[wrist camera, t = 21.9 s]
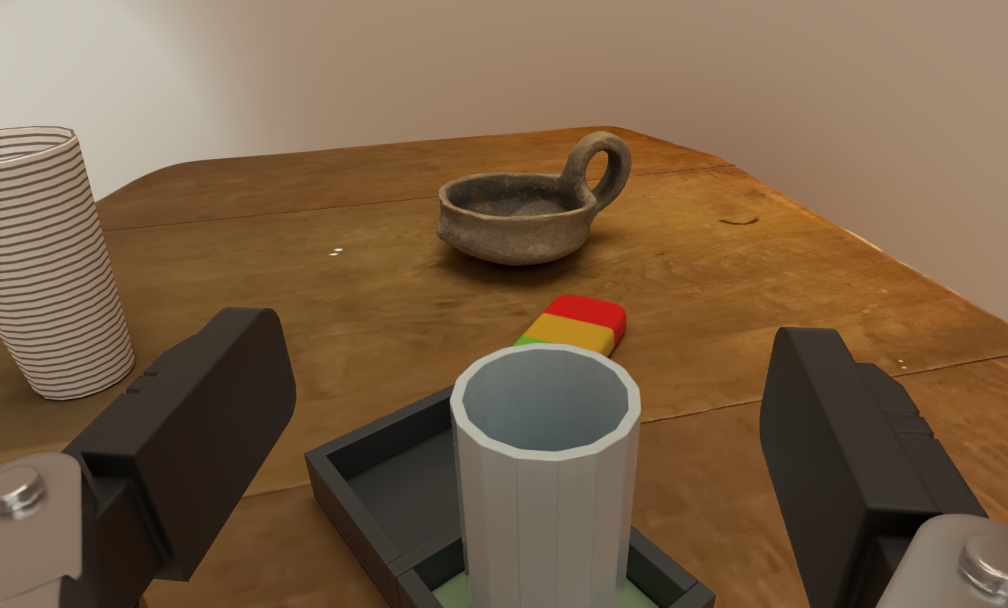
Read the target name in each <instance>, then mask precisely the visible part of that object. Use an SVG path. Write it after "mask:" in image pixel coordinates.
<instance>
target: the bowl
mask: <svg viewBox="0 0 1008 608" xmlns="http://www.w3.org/2000/svg"><path fill="white" fill-rule="evenodd" d="M601 150H603V151H605V152H607V153H608V166H607V169H606V172H605V174H604V176H603V177H602V179H601V180H600V182H599V184H598V185H597V186H596V187H595V188H594V189H592V190H591V191H590V189H589V188H588V186H587V183H586V178H585V173H586V168H587V164H588V163H589V161H590V160H591V158H592V157H593V156H594V155H595V154H596V153H597V152H599V151H601ZM630 170H631V155H630V151H629V148H628V146H627V145H626V144H625V142H624V141H623V140H622V139H620V138H619V137H617V136H616V135H614V134H611V133H609V132H604V131H600V132H594V133H592V134H589V135H587V136H585V137H584V138H582V139H581V140H580V141H579V142H578V143H577V144H576V145H575V146H574V148H573V149H572V150H571V152H570V154H569V157H568V160H567V163H566V166H565V168H564V170H563V172H562V174H539V173H509V172H496V173H483V174H475V175H470V176H466V177H462V178H459V179H456V180H453V181H451V182H449V183H447V184H445V185H443V186H442V187H441V188H440V190H439V192H438V194H439V200H440V208H441V213H440V220H439V224H438V226H437V235H438V237H439V238H440V239H442V240H444V241H445V242H447V243H449V244H450V245H452V246H453V247H455V248H457V249H459V250H460V251H462V252H464V253H466V254H469V255H471V256H473V257H476V258H479V259H482V260H485V261H489V262H493V263H498V264H504V265H515V266H517V265H532V264H541V263H547V262H551V261H554V260H557V259H560V258H562V257H564V256H566V255H568V254H570V253H572V252H573V251H575V250H576V249H578V248H579V247H581V246H582V245H583V243H584V242H585V241H586V239H587V237H588V235H589V232H590V225H591V223H592V221H593V219H594V218H595V216H596V215H597V213H598V212H600V211H601V210H603V209H604V208H605V207H606V206H608V205H609V204H610V203H611V202H612V201H614V200H615V198H616V197H617V196H618V195H619V194H620V192H621V191H622V189H623V188H624V186H625V184H626V182H627V179H628V177H629V173H630Z"/></svg>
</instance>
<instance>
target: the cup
mask: <svg viewBox="0 0 1008 608" xmlns="http://www.w3.org/2000/svg"><path fill="white" fill-rule="evenodd" d="M0 337H1V339H2V340H3V342H4V344H5V345H6V347H7V348H8V350H9V352H10V353H11V355H12V356H13V358H14V360H15V361H16V363H17V364H18V366H19V368H20V369H21V371H22V372H23V374H24V376H25V377H26V379H27V380H28V382H29V383H30V385H31V387H32V388H33V390H34V391H35V392H36V393H38V394H39V395H41V396H43V397H44V398H46V399H55V400H66V399H73V398H80V397H84V396H87V395H90V394H93V393H96V392H99V391H102V390H104V389H105V388H107V387H109V386H111V385H113V384H115V383H117V382H118V381H120V380H121V379H122V378H123V377H124V376H125V375H127V374H128V373H129V372H130V370H131V368H132V366H133V364H134V362H135V357H134V353H133V349H132V345H131V341H130V338H129V334H128V330H127V326H126V322H125V318H124V314H123V311H122V307H121V303H120V299H119V295H118V291H117V287H116V284H115V280H114V276H113V272H112V268H111V264H110V260H109V257H108V253H107V249H106V245H105V241H104V237H103V234H102V230H101V226H100V222H99V218H98V214H97V210H96V207H95V203H94V199H93V195H92V191H91V187H90V184H89V180H88V176H87V172H86V168H85V164H84V160H83V157H82V153H81V149H80V145H79V141H78V137H77V135H76V133H75V131H74V130H72V129H67V128H63V127H54V126H32V127H19V128H6V129H0Z"/></svg>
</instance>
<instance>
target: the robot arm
mask: <svg viewBox="0 0 1008 608" xmlns="http://www.w3.org/2000/svg"><path fill="white" fill-rule="evenodd" d="M295 403H296V384H295V380H294V376H293V372H292V368H291V363H290V359H289V355H288V351H287V347H286V343H285V339H284V335H283V331H282V327H281V323H280V319H279V317H278V315H277V314H276V312H275V311H274V310H272V309H269V308H241V307H226V308H224V309H222V310H221V311H220V312H219V313H218V314H217V315H216V316H215V317H214V318H213V319H212V320H211V321H210V322H209V323H208V324H207V325H206V326H205V327H204V328H203V329H202V330H201V331H200V332H199V333H198V334H197V335H193V336H191V337H190V338H188V339H186V340H184V341H183V342H181V343H179V344H177V345H176V346H174V347H172V348H170V349H169V350H167V351H165V352H164V353H163V354H162V355H161V356H160V357H159V358H158V359H157V360H156V361H155V362H154V363H153V364H151V365H150V366H149V367H148V368H147V369H146V370H145V371H144V375H143V376H139V377H138V378H137V379H136V380H135V381H134V382H133V383H132V384H131V385H130V386H129V387H128V388H127V389H126V394H125V393H122V394H121V395H120V396H118V397H117V398H116V399H115V400H114V401H113V402H112V403H111V404H110V405H109V406H108V407H107V408H106V409H105V410H104V411H103V412H102V413H101V414H100V415H99V416H98V417H97V418H96V419H95V420H94V421H93V422H92V423H91V424H90V425H89V426H88V427H87V428H85V429H84V430H83V431H82V432H81V433H80V434H79V435H78V436H77V437H76V438H75V439H74V440H73V441H72V442H71V443H70V444H69V445H68V446H67V447H66V448H65V449H64V450H63V451H62V452H61V453H54V452H49V453H39V454H34V455H29V456H26V457H22V458H19V459H16V460H13V461H10V462H8V463H6V464H3V465H1V466H0V608H148V605H147V602H146V600H145V598H144V596H143V593H144V592H145V590H146V589H147V587H148V586H149V584H150V583H151V581H152V580H153V579H163V580H174V581H185V582H188V581H189V579H190V578H191V576H192V575H193V573H194V571H195V570H196V568H197V567H198V565H199V564H200V562H201V560H202V559H203V557H204V556H205V554H206V552H207V551H208V549H209V548H210V546H211V545H212V543H213V541H214V540H215V538H216V537H217V535H218V534H219V532H220V530H221V529H222V527H223V526H224V524H225V522H226V521H227V519H228V518H229V516H230V515H231V513H232V511H233V510H234V508H235V507H236V505H237V504H238V502H239V500H240V499H241V497H242V496H243V494H244V492H245V491H246V489H247V488H248V486H249V485H250V483H251V481H252V480H253V478H254V477H255V475H256V474H257V472H258V470H259V469H260V467H261V466H262V464H263V462H264V461H265V459H266V458H267V456H268V455H269V453H270V451H271V450H272V448H273V447H274V445H275V444H276V442H277V440H278V439H279V437H280V436H281V434H282V432H283V431H284V429H285V428H286V426H287V425H288V423H289V421H290V419H291V417H292V415H293V412H294V408H295ZM933 435H934V433H933V431H932V430H931V428H930V427H929V425H928V424H927V422H926V421H925V419H924V418H923V417H920V416H919V410H918V408H917V407H916V405H915V404H914V402H913V401H912V399H911V398H910V396H909V395H908V393H907V392H906V390H905V389H904V387H903V386H902V385H901V384H899V383H898V382H897V381H896V380H894V379H893V378H892V377H890V376H889V375H888V374H886V373H885V372H884V371H882V370H881V369H880V368H878V367H877V366H876V365H874V364H869V363H856V362H855V361H854V359H853V357H852V355H851V354H850V352H849V350H848V349H847V347H846V345H845V343H844V342H843V340H842V338H841V336H840V335H839V333H838V332H837V331H836V330H835V329H825V328H796V327H781V328H779V330H778V331H777V333H776V336H775V339H774V344H773V349H772V354H771V359H770V364H769V369H768V374H767V379H766V384H765V389H764V394H763V399H762V404H761V410H760V439H761V446H762V450H763V453H764V457H765V460H766V463H767V466H768V470H769V473H770V476H771V480H772V483H773V486H774V489H775V493H776V496H777V499H778V502H779V506H780V509H781V512H782V516H783V519H784V522H785V525H786V529H787V532H788V535H789V538H790V542H791V545H792V548H793V552H794V555H795V558H796V561H797V565H798V568H799V571H800V574H801V578H802V581H803V584H804V588H805V591H806V594H807V597H808V601H809V604H810V607H811V608H1008V526H1007V525H1005V524H1002V523H1000V522H997V521H994V520H991V519H989V517H988V516H987V514H986V512H985V511H984V509H983V508H982V506H981V505H980V503H979V502H978V500H977V499H976V497H975V496H974V494H973V493H972V491H971V490H970V488H969V486H968V485H967V483H966V482H965V480H964V479H963V477H962V476H961V474H960V473H959V471H958V470H957V468H956V467H955V465H954V464H953V462H952V460H951V459H950V457H949V456H948V454H947V453H946V451H945V450H944V448H943V447H942V445H941V444H940V442H939V441H938V439H934V436H933Z"/></svg>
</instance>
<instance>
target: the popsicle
mask: <svg viewBox="0 0 1008 608" xmlns="http://www.w3.org/2000/svg"><path fill="white" fill-rule="evenodd" d="M625 329H626V311H625V309H624V308H623V307H621V306H619V305H617V304H614V303H610V302H605V301H600V300H596V299H591V298H586V297H581V296H576V295H562V296H560V297H558V298H557V299H555V300H554V301H553V302H552V303H551V304H550V305H549V306H548V308H547V309H546V310H545V311H544V312H543V313H542V314H541V315H540V316H539V318H538V319H537V320H536V321H535V322H534V323H533V324H532V325H531V326H530V327H529V329H528V330H527V331H526V332H525V333H524V334H523V335H522V336H521V337H520V338H519V340H518V341H517V342H516V343H515V344H514V345H513V346H519V345H525V344H531V343H552V344H568V345H573V346H576V347H580V348H583V349H587V350H591V351H594V352H598V353H600V354H602V355H603V356H605V357H607V358H608V356H609V355H610V353H611V352H612V350H613V349H614V347H615V346H616V344H617V343H618V341H619V340H620V338H621V337H622V335H623V333H624V331H625ZM513 346H512V347H513Z"/></svg>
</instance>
